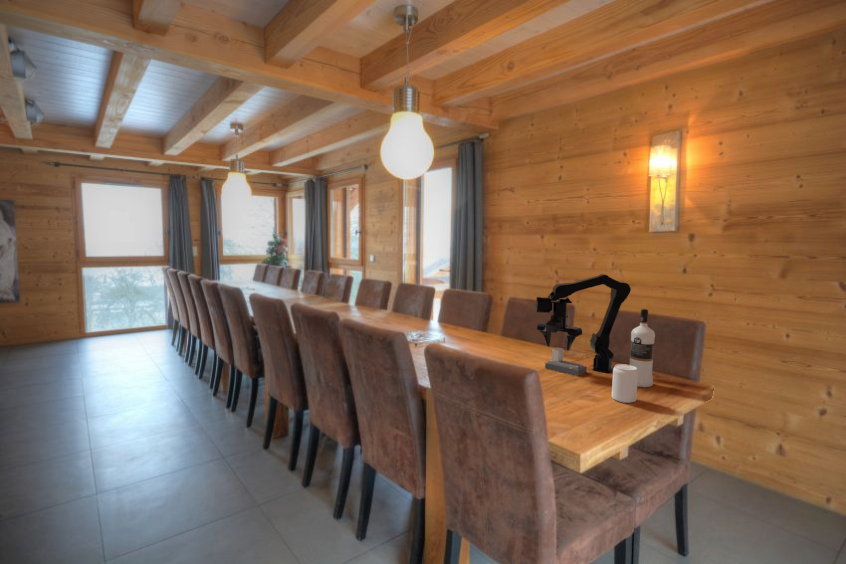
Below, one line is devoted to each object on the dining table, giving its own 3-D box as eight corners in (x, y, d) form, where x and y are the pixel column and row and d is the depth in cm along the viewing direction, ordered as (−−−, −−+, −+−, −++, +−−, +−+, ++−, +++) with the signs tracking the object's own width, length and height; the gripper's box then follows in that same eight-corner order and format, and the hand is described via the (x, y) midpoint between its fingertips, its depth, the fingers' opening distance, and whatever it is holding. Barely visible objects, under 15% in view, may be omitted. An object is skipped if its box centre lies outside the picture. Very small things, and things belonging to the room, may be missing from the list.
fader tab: (562, 362, 197) (563, 348, 197) (557, 364, 194) (558, 350, 193) (556, 360, 199) (557, 347, 199) (551, 362, 196) (552, 348, 196)
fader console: (586, 372, 192) (586, 364, 192) (577, 376, 186) (578, 368, 186) (554, 364, 202) (554, 357, 202) (545, 368, 197) (545, 360, 196)
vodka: (657, 386, 175) (663, 310, 172) (642, 389, 171) (647, 311, 168) (636, 379, 184) (641, 306, 180) (621, 382, 179) (626, 308, 176)
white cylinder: (637, 405, 155) (639, 371, 154) (612, 402, 158) (614, 368, 156) (634, 397, 163) (636, 365, 162) (610, 394, 165) (612, 362, 164)
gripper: (530, 312, 195) (529, 347, 197) (571, 318, 182) (569, 356, 184) (543, 309, 203) (542, 343, 205) (583, 315, 190) (581, 351, 192)
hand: (558, 348), depth 196 cm, fingers open, 9 cm apart
